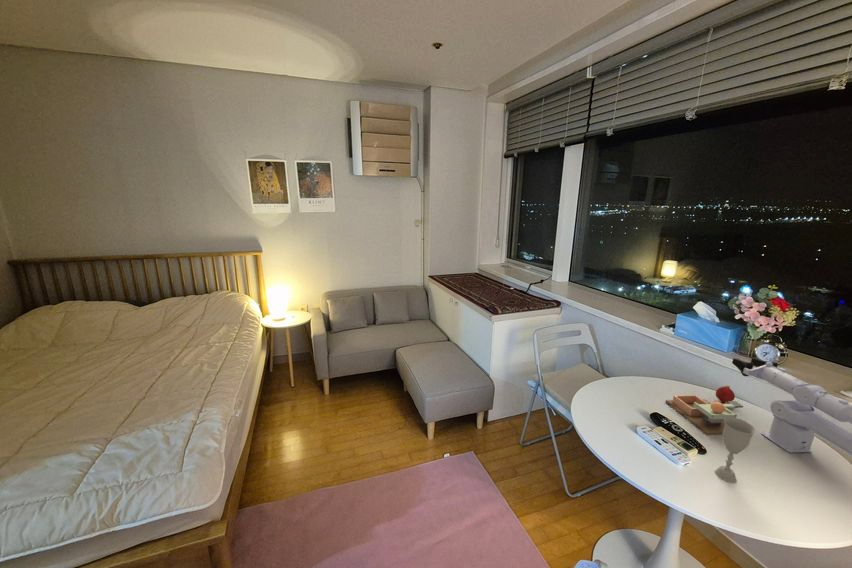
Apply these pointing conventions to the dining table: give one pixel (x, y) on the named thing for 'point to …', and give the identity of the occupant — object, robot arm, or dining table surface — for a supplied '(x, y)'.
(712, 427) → the base board
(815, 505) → the dining table surface
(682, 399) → the orange open box
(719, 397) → the onion
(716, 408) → the ball
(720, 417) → the tipping tray
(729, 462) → the chalice
